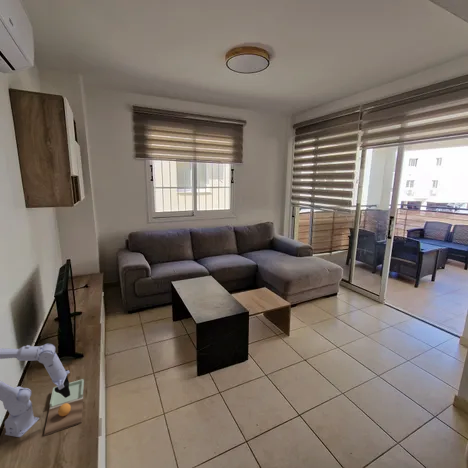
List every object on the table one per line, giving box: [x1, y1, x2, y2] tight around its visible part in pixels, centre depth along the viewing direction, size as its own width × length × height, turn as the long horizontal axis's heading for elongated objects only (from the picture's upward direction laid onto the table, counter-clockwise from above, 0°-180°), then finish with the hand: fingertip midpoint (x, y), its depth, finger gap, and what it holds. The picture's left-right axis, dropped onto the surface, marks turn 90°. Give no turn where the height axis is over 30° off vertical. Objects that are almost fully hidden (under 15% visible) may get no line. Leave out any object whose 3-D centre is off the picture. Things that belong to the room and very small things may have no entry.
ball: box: [58, 403, 71, 416], centre depth 122 cm, size 5×5×5 cm
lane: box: [43, 388, 85, 437], centre depth 127 cm, size 27×14×1 cm, turn 27°
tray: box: [49, 378, 85, 408], centre depth 134 cm, size 12×14×2 cm
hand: (67, 391), depth 124 cm, fingers open, 7 cm apart
